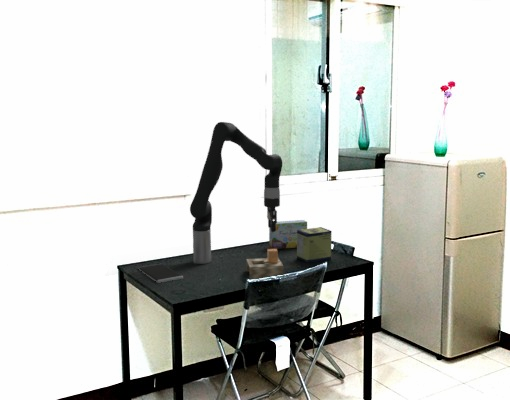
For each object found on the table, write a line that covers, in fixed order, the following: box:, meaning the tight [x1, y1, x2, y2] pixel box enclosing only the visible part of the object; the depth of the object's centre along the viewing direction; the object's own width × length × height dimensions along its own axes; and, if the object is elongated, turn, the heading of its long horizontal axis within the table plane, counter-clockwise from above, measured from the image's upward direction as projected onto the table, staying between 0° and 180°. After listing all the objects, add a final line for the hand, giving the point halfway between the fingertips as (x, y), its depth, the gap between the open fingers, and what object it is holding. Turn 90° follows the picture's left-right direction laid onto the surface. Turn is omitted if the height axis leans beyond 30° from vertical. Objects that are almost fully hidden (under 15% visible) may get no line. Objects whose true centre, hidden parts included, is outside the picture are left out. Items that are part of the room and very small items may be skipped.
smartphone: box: [138, 263, 184, 284], centre depth 288 cm, size 13×27×2 cm, turn 31°
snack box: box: [268, 219, 308, 250], centre depth 335 cm, size 21×6×15 cm, turn 105°
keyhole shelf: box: [245, 257, 284, 280], centre depth 285 cm, size 16×14×6 cm
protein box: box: [296, 226, 333, 264], centre depth 310 cm, size 10×16×16 cm
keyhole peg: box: [266, 248, 279, 263], centre depth 285 cm, size 4×4×9 cm
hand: (271, 229), depth 282 cm, fingers open, 8 cm apart
